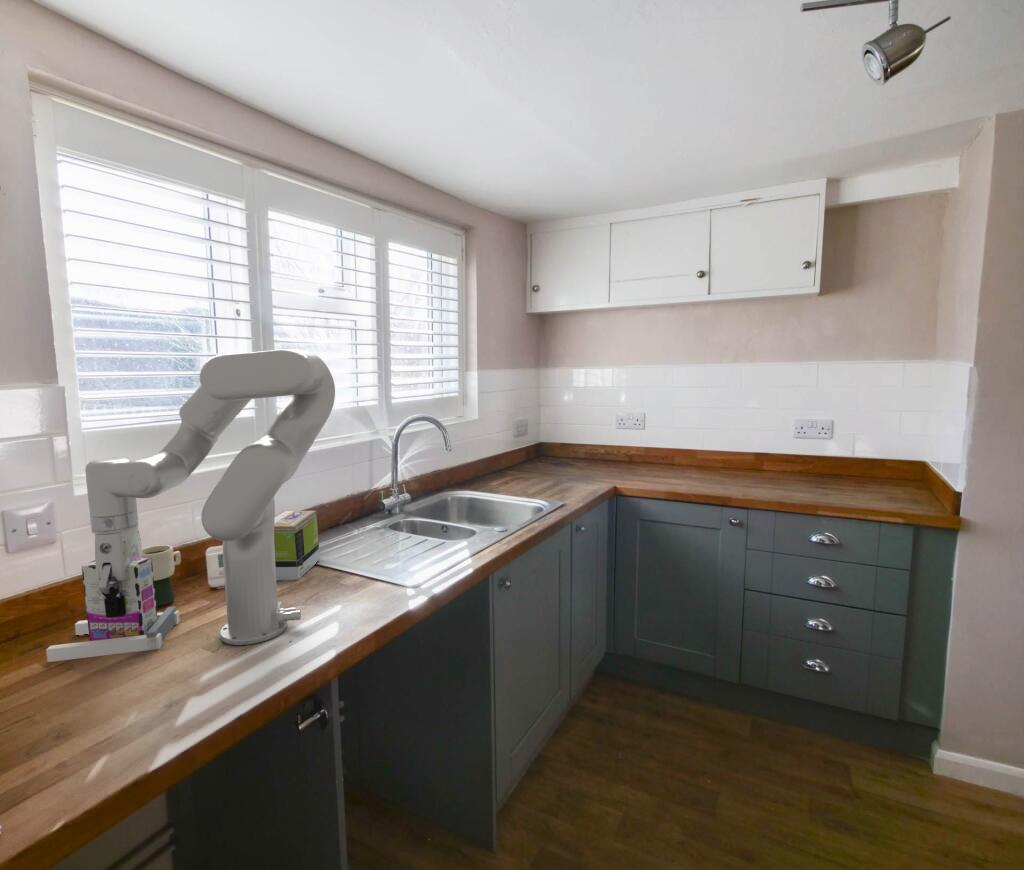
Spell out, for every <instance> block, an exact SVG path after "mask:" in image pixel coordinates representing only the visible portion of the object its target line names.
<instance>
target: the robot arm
mask: <svg viewBox="0 0 1024 870" xmlns="http://www.w3.org/2000/svg"><path fill="white" fill-rule="evenodd" d="M199 383H200V386H198V388H197V389H196V390H195V391H194V392H193V394H192V395H191V396H190V397H189V398H188V399H187V400H186V401H185V402H184V403H183V405H182V406H180V409H179V411H178V412H179V414H178V415H179V418H180V420H181V423H180V426H179V429H178V430H177V432H176V433H175V434H174V435H173V437H172V438H171V439H170V440H169V441H168V442H167V444H166V445H165V446H164V447H163V448H162V449H161V450H160V451H159V452H158V453H156V454H153V455H150V456H146V457H144V458H141V459H137V460H130V459H129V458H126V457H108V458H100V459H95V460H92V461H89V462H88V463H87V464H86V465H85V480H86V492H87V499H88V509H89V518H90V529H91V533H92V534H93V535H94V560H95V565H96V575H97V580H98V582H99V587H98V588H99V590H100V591H101V592H102V594H103V599H104V602H105V612H106V617H107V618H111V617H120V616H124V615H125V614H126V608H125V598H124V595H122V582H126V581H128V580H129V572H128V565H129V564H130V563H131V562H133V561H134V560H135V559H136V558H143V551H142V549H143V545H142V541H141V534H140V529H139V516H138V515H139V514H138V506H137V505H138V504H137V499H150V498H151V499H152V498H154V497H157V496H158V495H161V494H163V493H165V492H167V491H169V490H171V489H173V488H176V487H177V486H179V485H181V484H182V483H183V482H185V481H186V480H187V479H188V477H190V476H191V475H192V473H193V472H194V471H195V470H196V469H197V468H198V467H199V466H200V465H201V463H203V461H204V460H205V459H206V457H207V456H208V455H209V454H210V452H211V450H212V449H213V447H214V445H215V444H216V443H217V442H218V440H219V437H220V435H222V433H223V432H224V431H225V430H226V429H227V427H228V426H229V425H230V424H231V423H232V422H233V421H234V420H235V418H236V417H237V416H239V414H240V413H241V411H243V410H244V408H245V407H247V405H248V404H249V403H250V402H251V401H252V400H254V399H255V400H256V399H266V398H275V397H289V399H288V401H287V402H286V404H285V405H283V407H282V409H281V410H280V411H279V412H278V414H277V415H276V418H275V419H274V421H273V422H272V424H271V425H270V426H269V428H268V429H267V431H266V433H264V435H263V436H262V437H261V438H260V439H259V440H257V441H253V442H252V443H250V444H248V445H247V446H245V447H244V448H243V449H241V451H239V453H238V454H237V455H236V456H235V457H234V458H233V460H232V462H231V463H230V464H229V465H228V467H227V468H226V470H225V472H224V473H223V475H222V476H221V478H220V479H219V480H218V482H217V484H216V485H215V487H214V488H213V490H212V492H211V493H210V494H209V496H208V498H207V499H206V501H205V502H204V505H203V507H202V510H201V516H200V517H201V524H202V527H203V529H204V531H205V532H206V533H207V535H208V536H209V537H211V538H213V539H214V540H216V541H221V542H222V560H223V564H222V565H223V577H224V588H225V589H224V590H225V591H224V592H225V605H226V614H227V615H226V617H227V623H226V624H224V626H222V628H221V629H220V630H219V638H220V640H221V641H222V642H223V643H225V644H228V645H233V646H244V645H245V646H246V645H253V644H258V643H262V642H266V641H269V640H270V639H273V638H275V637H277V636H278V635H280V634H282V633H283V632H284V631H285V630H286V628H287V626H288V621H291V622H292V621H300V620H301V619H302V611H301V609H300V610H297V607H296V606H295V607H289V608H285V607H284V606H283V607H282V601H279V599H278V586H277V584H278V583H277V580H276V566H275V545H274V521H275V515H276V503H275V502H276V501H275V495H277V493H278V492H279V490H280V488H281V487H282V486H283V485H284V484H285V483H286V482H288V481H289V480H290V479H291V478H292V477H293V476H294V474H295V473H296V471H297V470H298V468H299V467H300V465H301V463H302V461H303V460H304V457H305V456H306V455H307V453H308V452H309V451H310V449H311V447H312V445H313V444H314V442H315V441H316V439H317V437H318V436H319V434H320V432H321V430H322V429H323V427H324V426H325V424H326V422H327V421H328V419H329V417H330V415H331V412H332V411H333V408H334V403H335V399H336V385H335V380H334V378H333V374H332V372H331V371H330V368H329V367H328V366H327V363H325V362H324V360H323V359H322V358H321V357H320V356H318V355H317V354H315V353H313V352H311V351H308V350H303V349H292V348H291V349H290V348H286V349H285V348H283V349H282V348H281V349H273V350H264V351H263V350H262V351H251V352H240V353H223V354H217V355H214V356H213V357H211V358H209V359H208V360H207V361H206V362H205V363H204V364H203V366H202V368H201V369H200V373H199ZM111 578H116V579H117V580H118V581H110V580H111ZM113 584H117V589H115V588H114V587H111V585H113Z"/></svg>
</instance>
